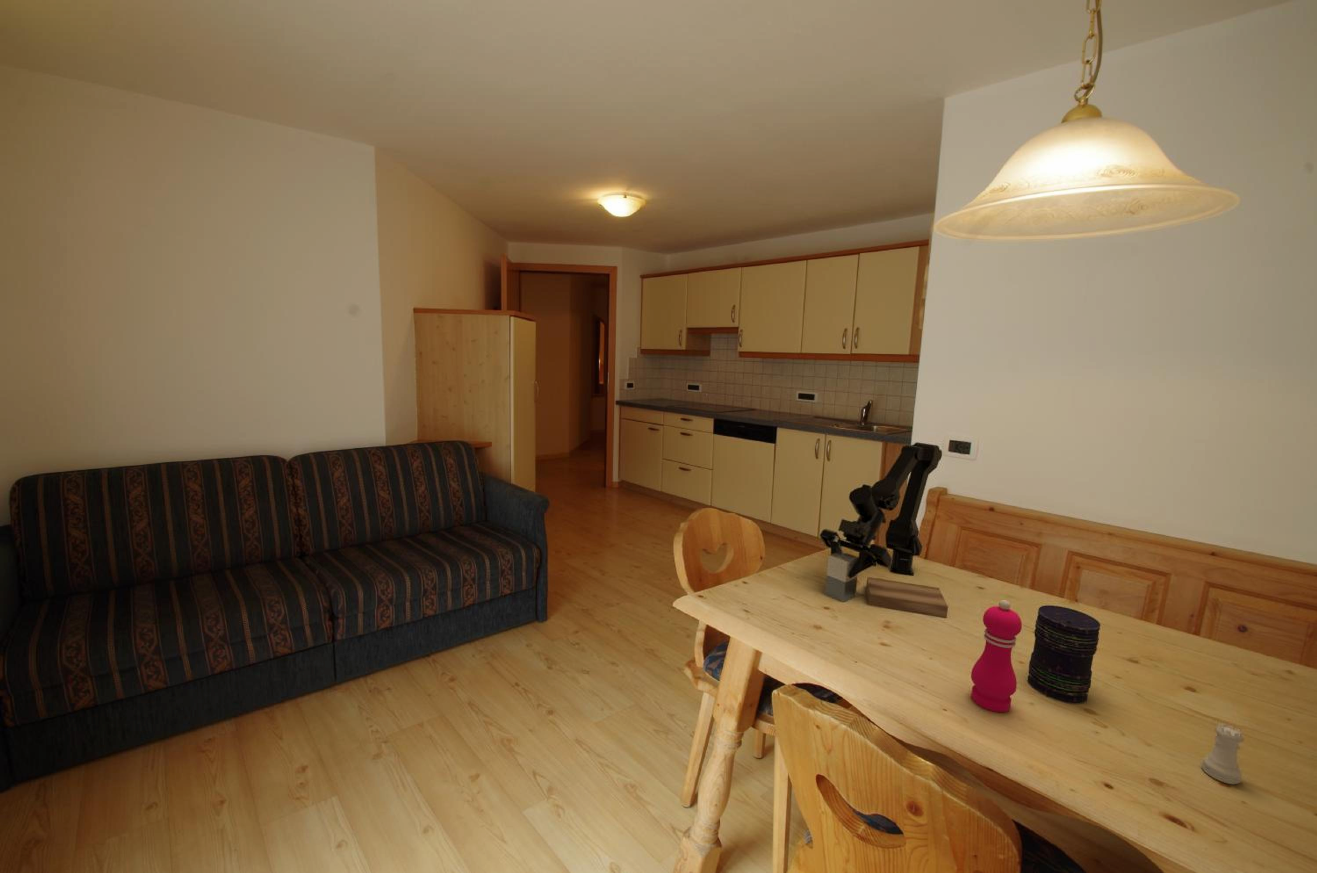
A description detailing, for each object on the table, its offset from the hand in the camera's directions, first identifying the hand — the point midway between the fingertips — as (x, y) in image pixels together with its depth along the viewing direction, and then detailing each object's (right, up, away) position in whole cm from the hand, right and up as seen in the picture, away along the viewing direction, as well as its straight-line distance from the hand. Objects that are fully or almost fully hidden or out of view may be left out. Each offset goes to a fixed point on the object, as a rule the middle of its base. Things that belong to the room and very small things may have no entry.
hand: (839, 573), depth 144 cm
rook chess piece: (+41, -17, -58) cm, 73 cm away
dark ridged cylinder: (+31, -14, -36) cm, 49 cm away
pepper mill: (+14, -14, -42) cm, 46 cm away
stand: (+17, -8, 0) cm, 19 cm away
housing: (+1, -6, +2) cm, 7 cm away
